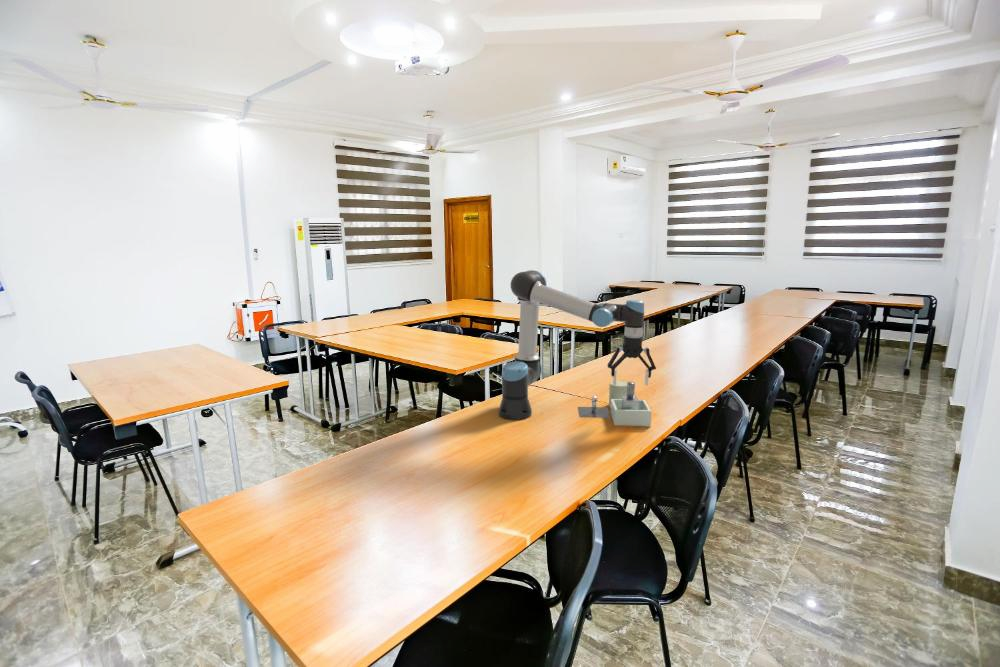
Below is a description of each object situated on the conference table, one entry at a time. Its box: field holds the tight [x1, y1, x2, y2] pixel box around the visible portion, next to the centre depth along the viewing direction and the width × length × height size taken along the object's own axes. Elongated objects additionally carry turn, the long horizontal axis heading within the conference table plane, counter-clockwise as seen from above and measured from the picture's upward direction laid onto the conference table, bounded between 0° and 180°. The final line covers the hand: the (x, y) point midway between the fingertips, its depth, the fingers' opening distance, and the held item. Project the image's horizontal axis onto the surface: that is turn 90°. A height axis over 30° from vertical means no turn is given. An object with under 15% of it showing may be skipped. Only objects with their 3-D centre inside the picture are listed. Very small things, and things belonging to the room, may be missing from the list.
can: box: [608, 380, 627, 408], centre depth 235 cm, size 9×9×12 cm
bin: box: [610, 399, 652, 428], centre depth 218 cm, size 15×15×7 cm
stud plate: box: [577, 395, 612, 419], centre depth 227 cm, size 14×14×8 cm
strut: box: [621, 381, 640, 410], centre depth 217 cm, size 6×6×16 cm
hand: (630, 384), depth 216 cm, fingers open, 13 cm apart
